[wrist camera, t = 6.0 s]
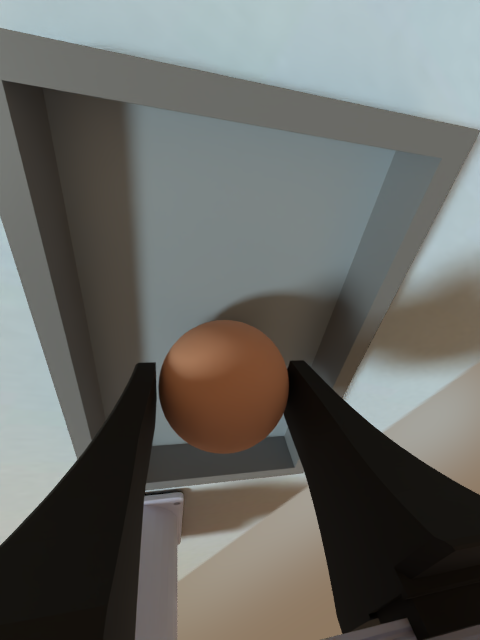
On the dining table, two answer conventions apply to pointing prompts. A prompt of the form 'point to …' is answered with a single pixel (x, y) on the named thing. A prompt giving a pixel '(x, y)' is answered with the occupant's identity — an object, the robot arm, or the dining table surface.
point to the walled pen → (203, 225)
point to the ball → (223, 386)
